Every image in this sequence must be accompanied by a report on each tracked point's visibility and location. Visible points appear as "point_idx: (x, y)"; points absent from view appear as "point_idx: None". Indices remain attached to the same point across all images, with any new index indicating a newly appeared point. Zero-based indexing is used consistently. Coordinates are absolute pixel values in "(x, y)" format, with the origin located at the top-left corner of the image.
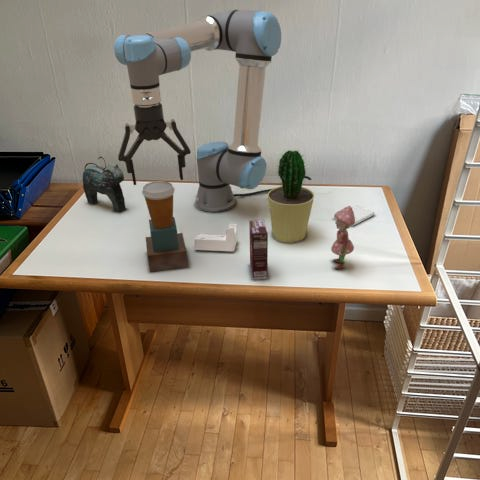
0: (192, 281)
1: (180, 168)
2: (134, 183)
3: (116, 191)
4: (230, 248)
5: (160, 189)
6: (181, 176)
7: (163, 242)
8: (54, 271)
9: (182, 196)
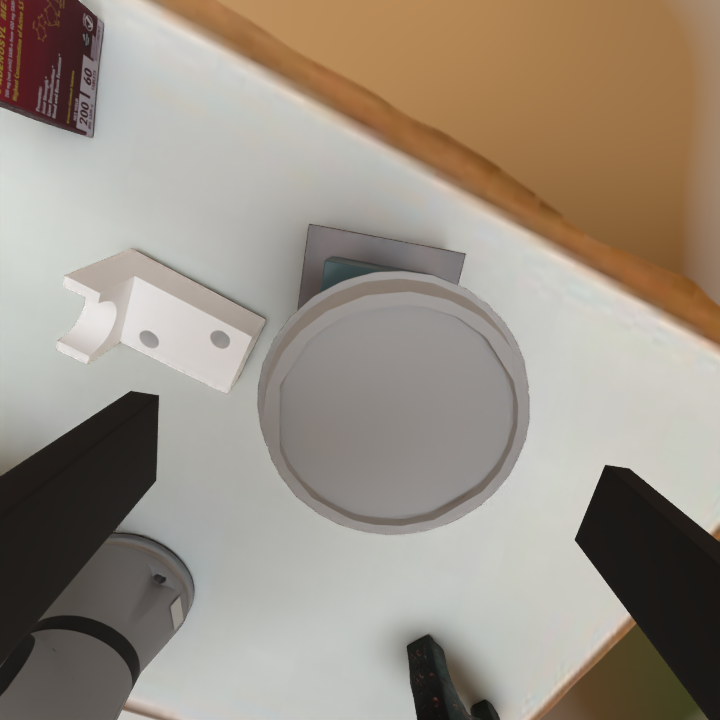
0: (327, 122)
1: (52, 463)
2: (630, 476)
3: (440, 713)
4: (136, 257)
5: (385, 376)
6: (124, 410)
7: (394, 269)
8: (716, 383)
9: (223, 659)
